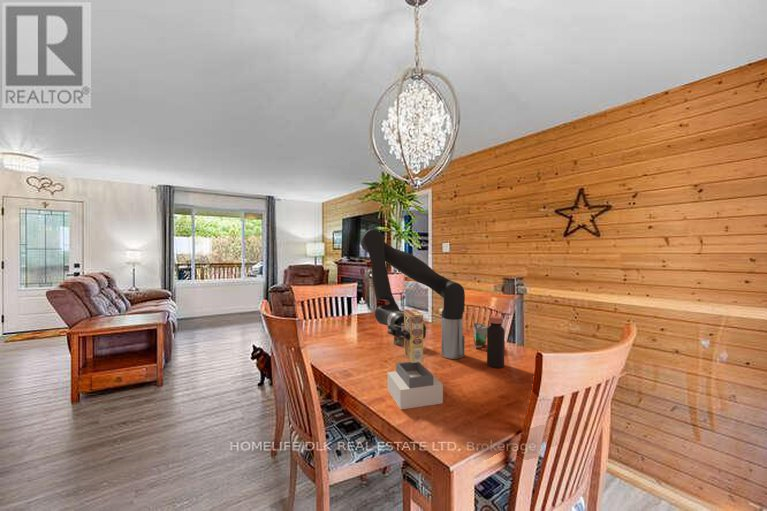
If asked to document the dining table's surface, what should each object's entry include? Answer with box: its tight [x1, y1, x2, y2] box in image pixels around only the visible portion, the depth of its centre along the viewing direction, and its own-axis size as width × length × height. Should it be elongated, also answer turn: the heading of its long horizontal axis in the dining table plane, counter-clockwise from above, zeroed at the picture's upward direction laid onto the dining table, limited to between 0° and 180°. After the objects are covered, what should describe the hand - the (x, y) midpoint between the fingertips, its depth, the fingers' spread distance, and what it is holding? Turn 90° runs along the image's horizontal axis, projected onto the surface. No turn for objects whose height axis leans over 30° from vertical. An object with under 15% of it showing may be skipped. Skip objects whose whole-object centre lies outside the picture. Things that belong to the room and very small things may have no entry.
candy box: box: [403, 308, 424, 363], centre depth 105 cm, size 9×4×15 cm, turn 13°
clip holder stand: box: [387, 361, 444, 411], centre depth 105 cm, size 14×14×9 cm
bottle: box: [486, 315, 506, 369], centre depth 132 cm, size 7×7×20 cm
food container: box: [473, 322, 488, 350], centre depth 156 cm, size 12×6×10 cm, turn 168°
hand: (416, 336), depth 102 cm, fingers closed on candy box, 4 cm apart
